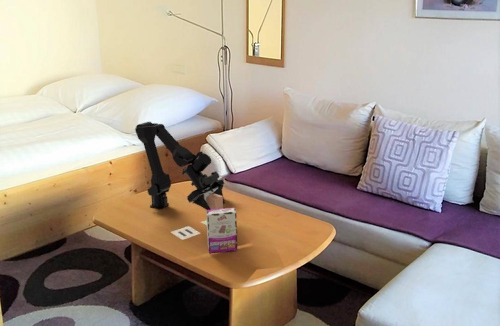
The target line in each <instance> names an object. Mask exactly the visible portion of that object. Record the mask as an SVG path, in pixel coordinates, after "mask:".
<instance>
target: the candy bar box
mask: <svg viewBox="0 0 500 326" xmlns="http://www.w3.org/2000/svg"><path fill="white" fill-rule="evenodd" d="M205 210H206V209H205ZM205 214H206V220H207V226H206V235H207V249H208V253H209V254H219V253H228V252H237V251H238V232H237V231H238V230H237V229H238V227H237V226H238V225H237V221H238V220H237V210H236V209H235V207H226V208H224V207H223V209H214V210H206V212H205Z"/></svg>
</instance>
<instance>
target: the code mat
mask: <svg viewBox="0 0 500 326" xmlns="http://www.w3.org/2000/svg"><path fill="white" fill-rule="evenodd" d="M200 223H201V224H203V225H205V226H206V227H207V219H205V220H203V221H200ZM170 233H171V234H173V235H174V236H176V237H177V238H179V239H180V240H182V241H183V240H186V239H190V238H191V237H192V238H193V237H195V236H197V235H201V234H202V233H201V232H199V231H197V230H196V229H194V228H193V227H191V226H189V225H187V226H185V227H182V228H179V229H175V230H173V231H170Z"/></svg>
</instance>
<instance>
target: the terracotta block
mask: <svg viewBox="0 0 500 326" xmlns="http://www.w3.org/2000/svg"><path fill="white" fill-rule="evenodd" d="M223 197H224V195H223V196H221V195H217V194H212V195H209V196H207V197H206V202H207V204H208V205H209V207H210V209H211V210H214V209H224V204H223Z"/></svg>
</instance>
